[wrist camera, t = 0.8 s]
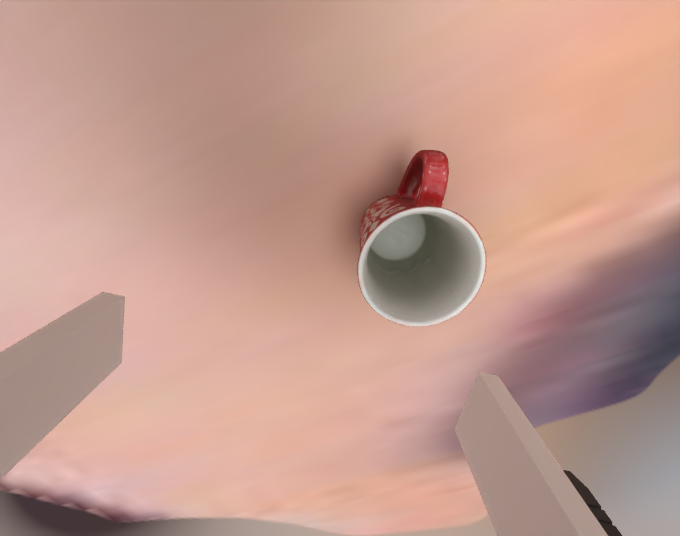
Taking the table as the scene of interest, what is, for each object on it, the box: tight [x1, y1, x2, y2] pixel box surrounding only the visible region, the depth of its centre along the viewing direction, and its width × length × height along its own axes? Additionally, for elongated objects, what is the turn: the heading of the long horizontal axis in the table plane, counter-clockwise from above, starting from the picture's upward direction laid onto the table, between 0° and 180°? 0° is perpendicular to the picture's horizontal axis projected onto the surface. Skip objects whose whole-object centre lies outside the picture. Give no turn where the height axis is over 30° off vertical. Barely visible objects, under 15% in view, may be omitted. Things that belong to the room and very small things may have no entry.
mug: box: [357, 150, 486, 327], centre depth 31 cm, size 13×9×14 cm
